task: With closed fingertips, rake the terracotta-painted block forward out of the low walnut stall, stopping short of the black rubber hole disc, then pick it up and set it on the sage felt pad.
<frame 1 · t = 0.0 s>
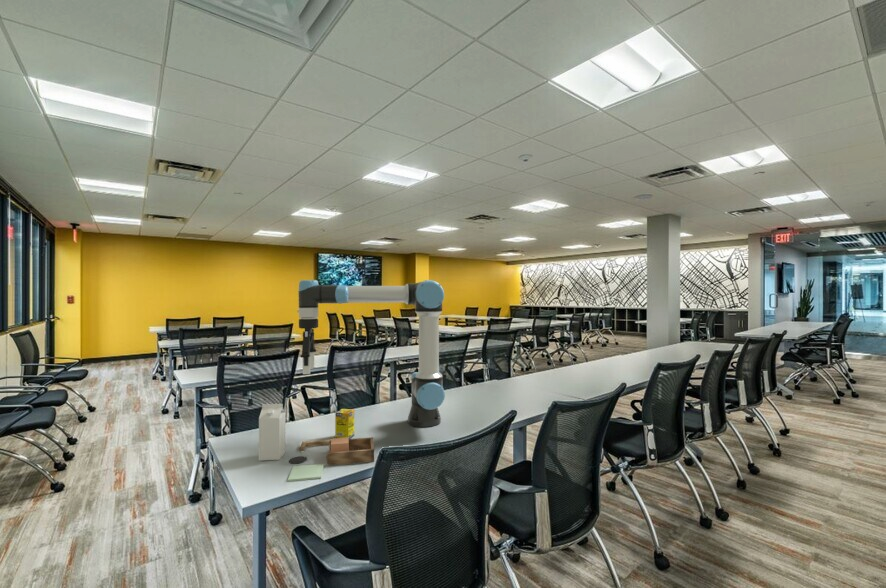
hand: (308, 370, 163), 28 cm above the table, fingers open, 13 cm apart
milk carton: (272, 457, 147), on the table
hole disc: (297, 460, 143), on the table
felt pad: (306, 473, 133), on the table
oak crook tool: (320, 445, 158), on the table
walnut stall: (351, 456, 147), on the table
supplement box: (345, 437, 166), on the table
terracotta block: (339, 457, 146), on the table
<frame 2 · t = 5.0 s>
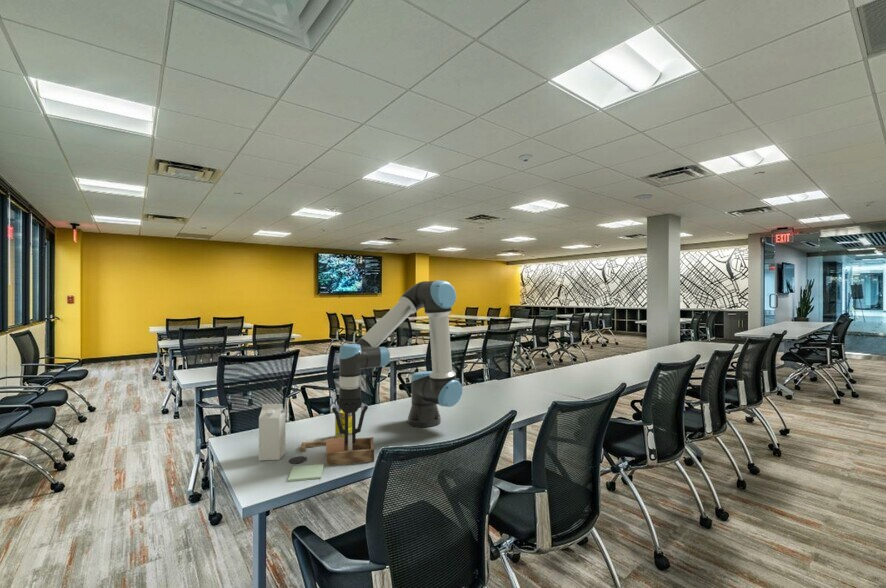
hand: (350, 452, 147), 2 cm above the table, fingers closed
terracotta block: (335, 457, 146), on the table, touching gripper
everything else where it was.
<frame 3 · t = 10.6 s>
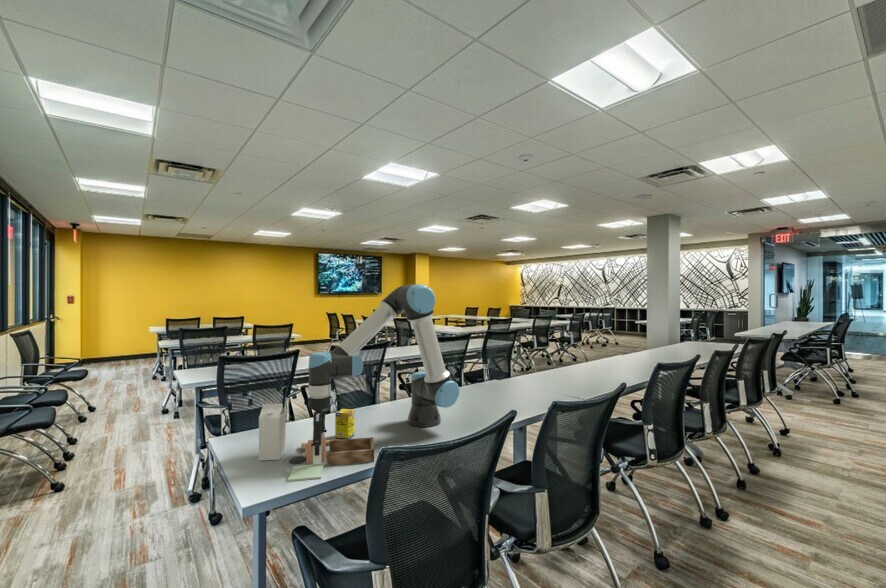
hand: (319, 457, 144), 1 cm above the table, fingers open, 12 cm apart
terracotta block: (316, 459, 144), on the table
everything else where it was.
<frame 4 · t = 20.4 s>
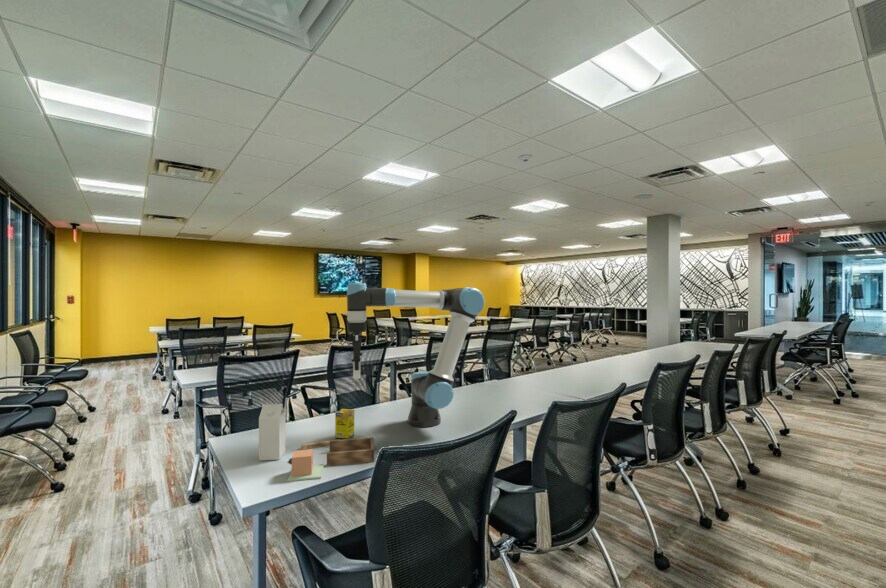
hand: (357, 375, 160), 27 cm above the table, fingers open, 13 cm apart
terracotta block: (302, 471, 132), point 1 cm above the table, touching felt pad
at the end: terracotta block inside the target area on the felt pad (1.2 cm from its centre), point 0.6 cm above the felt pad's base; terracotta block tilted 0°; terracotta block touching felt pad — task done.
